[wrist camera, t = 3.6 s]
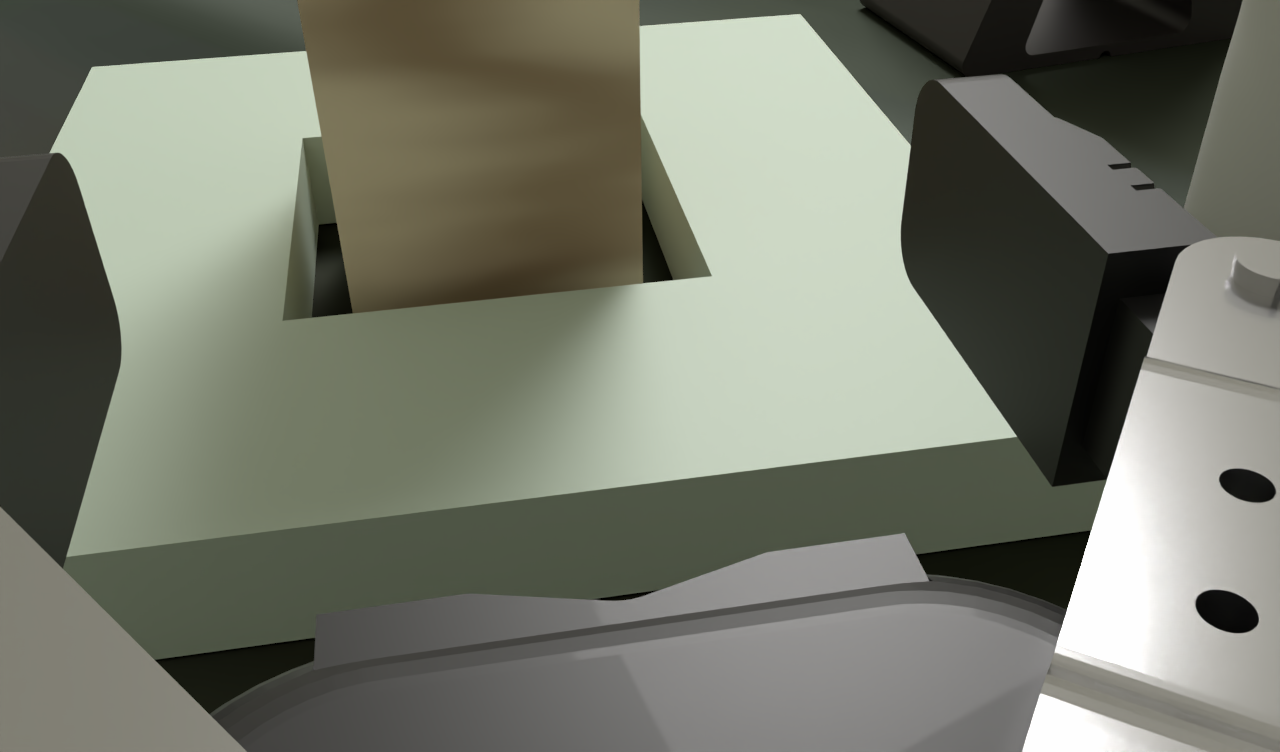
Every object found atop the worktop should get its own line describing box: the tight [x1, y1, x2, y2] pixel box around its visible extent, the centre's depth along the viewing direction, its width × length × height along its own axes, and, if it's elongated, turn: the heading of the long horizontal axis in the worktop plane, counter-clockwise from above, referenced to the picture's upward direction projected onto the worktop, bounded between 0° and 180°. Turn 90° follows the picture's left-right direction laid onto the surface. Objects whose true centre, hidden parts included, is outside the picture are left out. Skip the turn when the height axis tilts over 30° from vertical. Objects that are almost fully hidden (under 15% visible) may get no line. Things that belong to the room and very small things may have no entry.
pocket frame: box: [50, 14, 1107, 660], centre depth 23 cm, size 17×17×2 cm
